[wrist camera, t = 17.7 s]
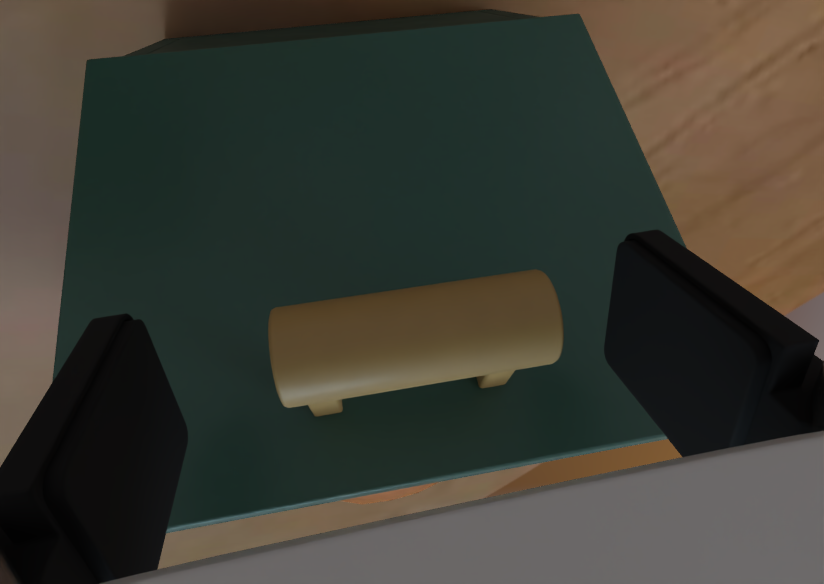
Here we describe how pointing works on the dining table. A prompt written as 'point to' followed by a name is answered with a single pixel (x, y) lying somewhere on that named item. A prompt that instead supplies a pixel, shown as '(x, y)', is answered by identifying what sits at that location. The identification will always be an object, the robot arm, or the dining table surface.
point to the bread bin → (328, 30)
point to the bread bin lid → (364, 254)
